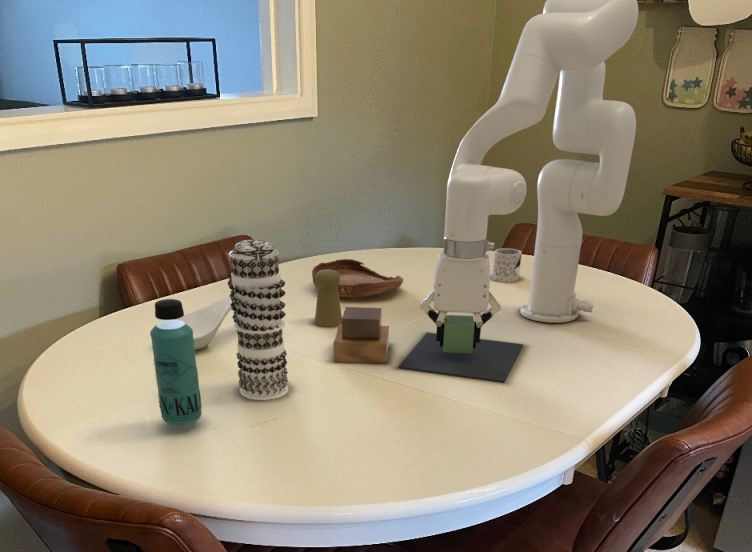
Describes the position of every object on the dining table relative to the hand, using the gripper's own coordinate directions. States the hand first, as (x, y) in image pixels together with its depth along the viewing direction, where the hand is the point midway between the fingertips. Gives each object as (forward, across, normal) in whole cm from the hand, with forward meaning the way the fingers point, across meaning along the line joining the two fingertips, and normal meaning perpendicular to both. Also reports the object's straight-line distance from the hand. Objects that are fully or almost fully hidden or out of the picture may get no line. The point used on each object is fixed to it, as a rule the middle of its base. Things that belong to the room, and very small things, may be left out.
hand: (457, 344), depth 147 cm
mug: (+3, -14, -58) cm, 60 cm away
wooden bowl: (+3, +23, -42) cm, 48 cm away
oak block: (+3, +18, -1) cm, 19 cm away
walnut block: (-1, +18, -1) cm, 18 cm away
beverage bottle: (+3, +44, +34) cm, 56 cm away
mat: (+3, -1, -1) cm, 3 cm away
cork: (+3, +27, -19) cm, 33 cm away
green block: (+1, 0, 0) cm, 1 cm away
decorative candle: (+3, +34, +19) cm, 39 cm away
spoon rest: (+3, +49, -6) cm, 49 cm away
